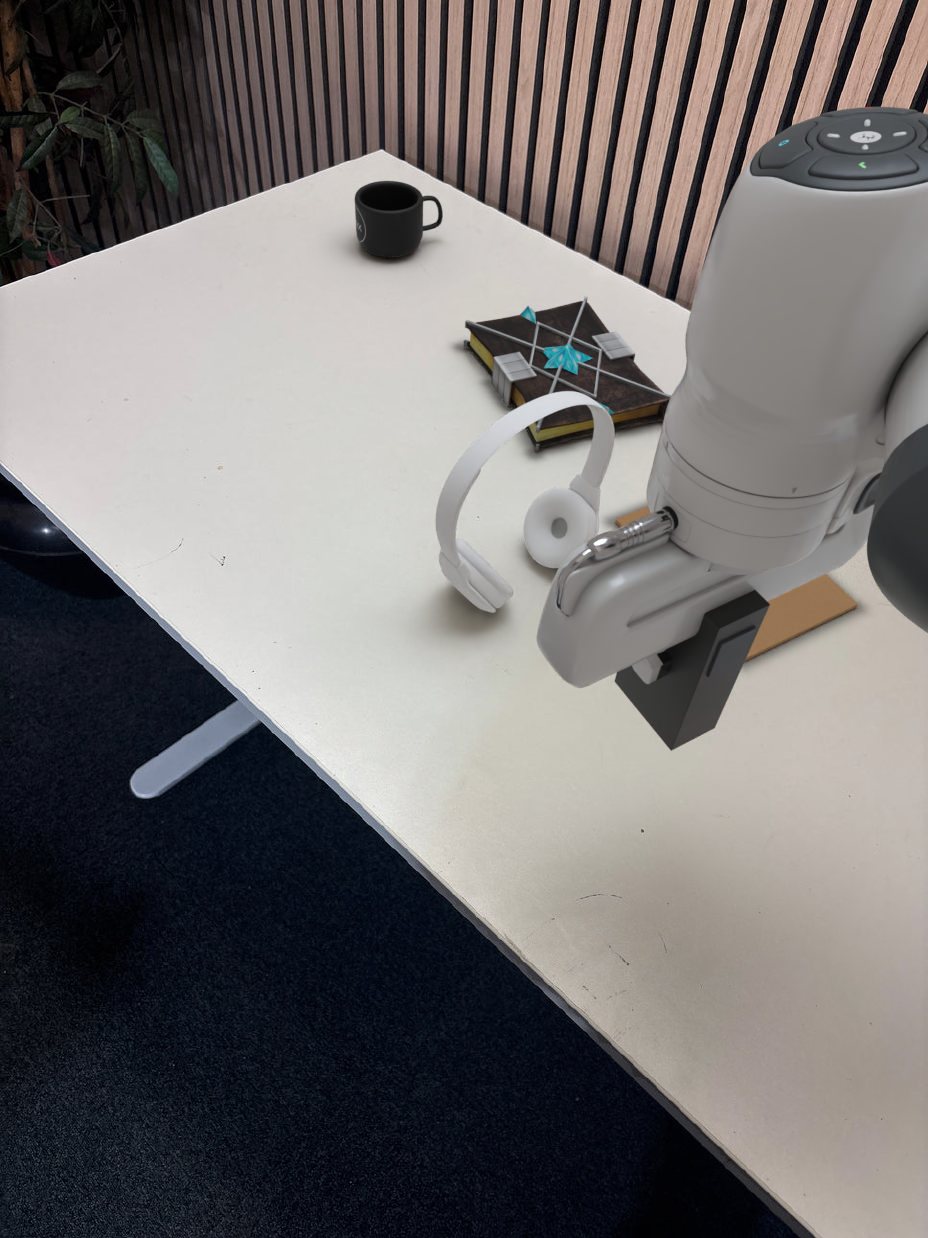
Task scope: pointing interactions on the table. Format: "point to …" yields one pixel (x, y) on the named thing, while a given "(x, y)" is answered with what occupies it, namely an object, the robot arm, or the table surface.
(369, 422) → the table surface
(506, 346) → the book
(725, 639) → the device
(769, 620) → the mat
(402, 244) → the mug
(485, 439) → the headphones
